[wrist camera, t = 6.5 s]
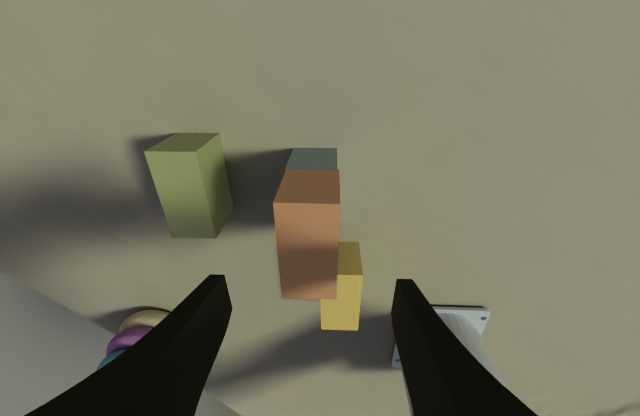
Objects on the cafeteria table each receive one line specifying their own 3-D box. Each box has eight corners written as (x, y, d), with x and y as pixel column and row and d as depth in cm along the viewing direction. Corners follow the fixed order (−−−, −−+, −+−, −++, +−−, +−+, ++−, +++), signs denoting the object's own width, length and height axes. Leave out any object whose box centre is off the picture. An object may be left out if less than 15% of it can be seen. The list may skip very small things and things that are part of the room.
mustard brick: (354, 293, 26) (357, 330, 23) (322, 292, 27) (321, 329, 23) (358, 241, 23) (362, 275, 20) (322, 240, 24) (320, 274, 20)
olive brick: (234, 208, 22) (215, 238, 19) (197, 207, 22) (172, 237, 19) (220, 132, 19) (195, 151, 16) (177, 132, 19) (143, 151, 16)
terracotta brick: (336, 253, 19) (336, 299, 15) (291, 251, 19) (282, 297, 16) (339, 169, 16) (340, 203, 12) (286, 168, 16) (272, 202, 13)
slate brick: (335, 221, 22) (335, 253, 19) (297, 220, 23) (290, 252, 19) (336, 148, 19) (337, 170, 16) (293, 147, 20) (284, 169, 16)
